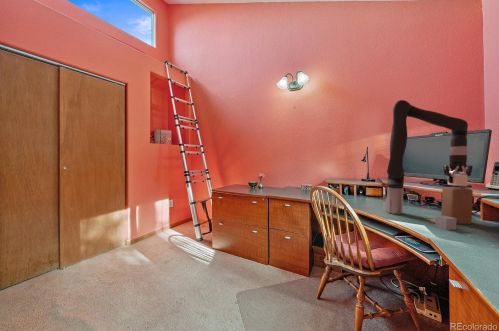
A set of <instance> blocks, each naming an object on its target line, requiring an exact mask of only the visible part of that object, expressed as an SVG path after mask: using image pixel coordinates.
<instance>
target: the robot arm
mask: <svg viewBox="0 0 499 331" xmlns="http://www.w3.org/2000/svg"><path fill="white" fill-rule="evenodd" d="M392 116H393V117H392V119H393V120H392V127H391V134H390V141H389V159H388V160H389V161H388V165H387V169H386V173H387V182H386V183H387V184H386V185H387V186H386V197H385V210H384V211H385V212H386V213H388V214H394V215H402V214H403V213H404V184H405V183H404V182H405V169H404V167H403V166H404V164H403V162H404V161H403V160H404V154H405V152H406V148H407V142H408V127H407V117H409V118H413V119H416V120H417V119H418V120H420V121H423V122H425V123H428V124H431V125H433V126H438V127H441V128H446V129H448V130H451V138H450V143H449V144H450V146H449V147H450V149H449V155H448V156H449V159H448V160H449V164H448V165H445V164H444V165H443V175H444V176H447V183H448V182H449V183H453V175H454V174H456V173H458V172H459V173H458V174H460V175H468V177H470V176H472V172H473V165H467V162H468V137H467V136H468V127H469V124H468V122H467V121H466V120H465V119H463V118H459V117H453V116H448V115H447V114H444V113H441V112H436V111H432V110H427V109H423V108H419V107H416V106H414V105H412V104H410V102H409V101H407V100H405V99H400V100H398V101H396V102H395V104H394V105H393V107H392Z"/></svg>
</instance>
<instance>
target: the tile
mask: <svg viewBox="0 0 499 331" xmlns="http://www.w3.org/2000/svg"><path fill="white" fill-rule="evenodd" d="M424 220H425V221H426V222H430V223H432V224H435V218H424Z"/></svg>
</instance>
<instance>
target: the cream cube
mask: <svg viewBox="0 0 499 331" xmlns="http://www.w3.org/2000/svg"><path fill="white" fill-rule="evenodd" d="M468 178H469V176H468V175H461V173H458V174H456V173H455V174H454V175H453V183H449V182H448V181H447V185H449V186H450V185H451V186H454V187H458V186H459V187H467V186H468Z"/></svg>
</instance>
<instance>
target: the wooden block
mask: <svg viewBox="0 0 499 331" xmlns="http://www.w3.org/2000/svg"><path fill="white" fill-rule="evenodd" d="M473 192H474V191H473V190H472V189H470V188H465V187H462V186H459V187H458V186H444V187H442V192H441V216H442V215H446V216H449V217H453V218H456V225H457V224H459V225H471V224H472V221H473V220H472V219H473V197H474V196H473V194H474V193H473Z"/></svg>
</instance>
